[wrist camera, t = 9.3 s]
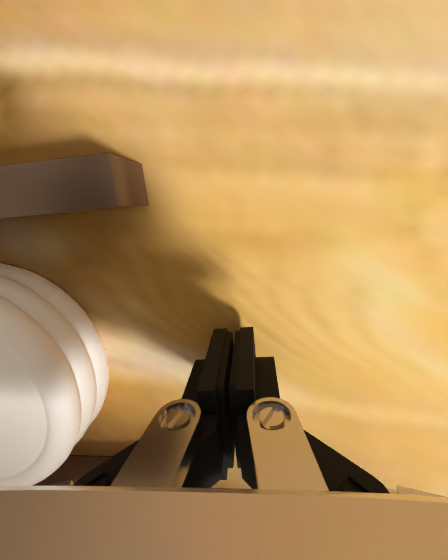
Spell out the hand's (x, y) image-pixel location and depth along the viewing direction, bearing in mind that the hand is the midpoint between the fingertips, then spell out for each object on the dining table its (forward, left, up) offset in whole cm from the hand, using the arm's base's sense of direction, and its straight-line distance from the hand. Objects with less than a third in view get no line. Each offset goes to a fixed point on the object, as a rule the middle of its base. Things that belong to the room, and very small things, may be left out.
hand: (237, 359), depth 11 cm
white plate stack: (+11, 0, -1) cm, 11 cm away
